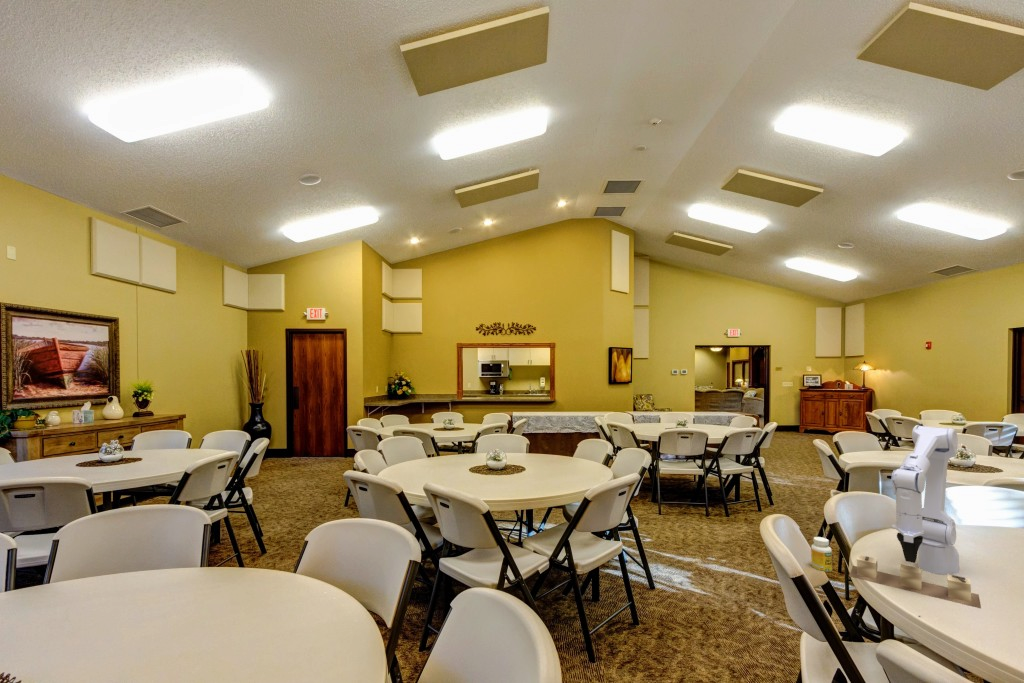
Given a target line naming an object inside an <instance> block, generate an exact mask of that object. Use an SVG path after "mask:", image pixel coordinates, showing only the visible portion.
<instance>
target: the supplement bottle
mask: <svg viewBox="0 0 1024 683" xmlns="http://www.w3.org/2000/svg"><path fill="white" fill-rule="evenodd" d="M829 545H830V540H829V539H827V538H826V537H823V536H822V537H821V536H814V537H813V543H812V544H811V548H810V549H811V550H810V552H811V553H810V554H811V567H812V568H813V569H815V570H817V571H821V572H832V571H833V550H832V547H830V546H829Z"/></svg>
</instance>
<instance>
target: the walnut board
mask: <svg viewBox="0 0 1024 683" xmlns="http://www.w3.org/2000/svg"><path fill="white" fill-rule="evenodd" d="M877 572H878V575H877V578H876V579H873V578H869V577H864V576H860V575H857V565H853V566H852V568H851V570H850V571H849V574H848V577H850V578H855V579H858V580H862V581H866V582H870V583H873V584H874V583H875V584H879V585H883V586H886V587H891V588H896V589H899V590H904V591H907V592H912V593H916V594H920V595H924V596H928V597H932V598H936V599H939V600H944V601H949V602H952V603H957V604H961V605H965V606H969V607H974V608H977V609H982V606H981V605H982V604H981V601H980V600H981V599H980V595H979V594H978V593H973V592H971V602H968V601H964V600H960V599H955V598H951V597H948V586H943V585H939V584H934V583H930V582H926V581H922V588H921V590H918V589H914V588H910V587H906V586H902V585H900V575H897V574H891V573H887V572H882V571H880V570H877Z"/></svg>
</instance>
